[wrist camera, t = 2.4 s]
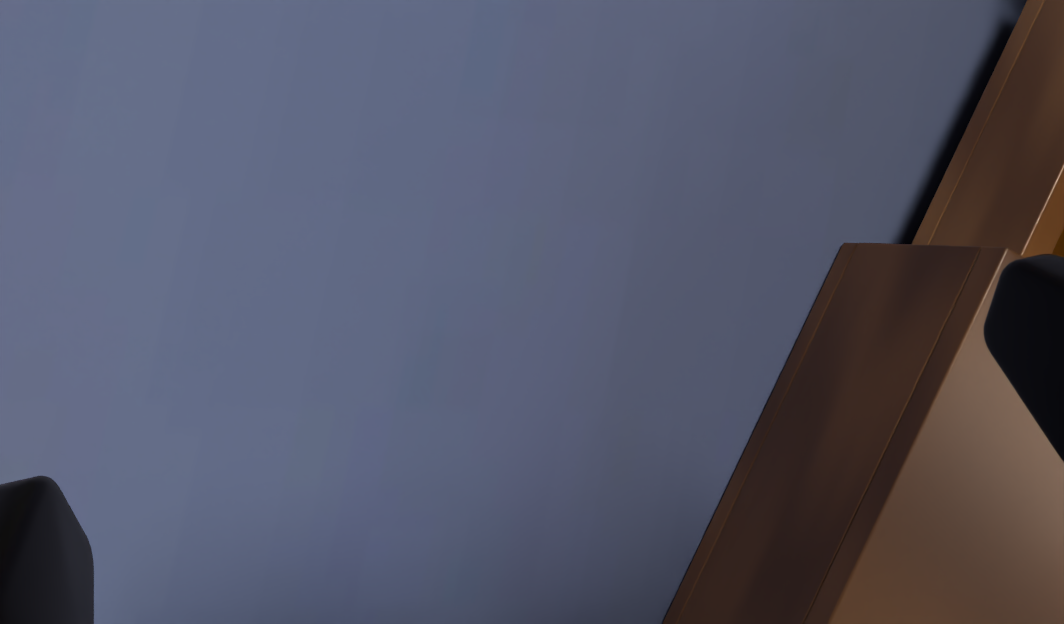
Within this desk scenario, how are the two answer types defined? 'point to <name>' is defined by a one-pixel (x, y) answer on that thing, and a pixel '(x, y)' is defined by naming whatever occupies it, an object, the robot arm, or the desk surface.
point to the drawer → (1010, 149)
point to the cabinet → (889, 465)
